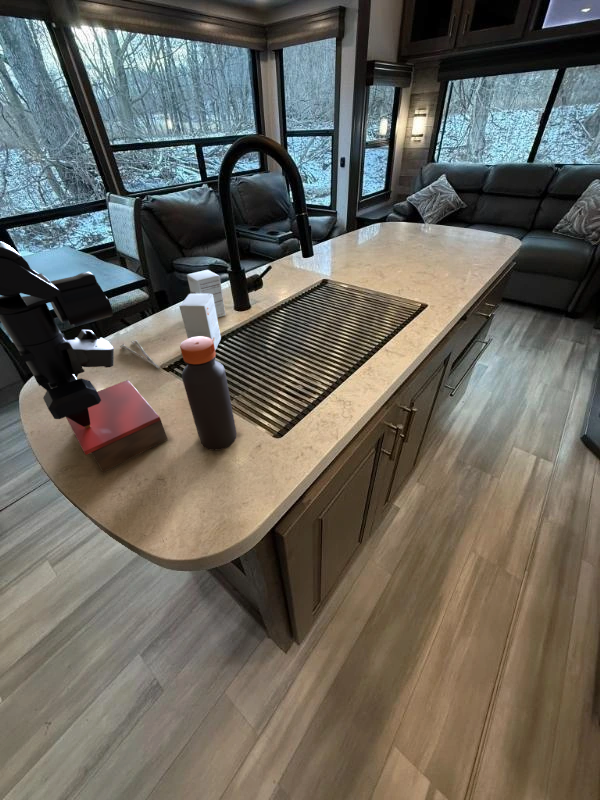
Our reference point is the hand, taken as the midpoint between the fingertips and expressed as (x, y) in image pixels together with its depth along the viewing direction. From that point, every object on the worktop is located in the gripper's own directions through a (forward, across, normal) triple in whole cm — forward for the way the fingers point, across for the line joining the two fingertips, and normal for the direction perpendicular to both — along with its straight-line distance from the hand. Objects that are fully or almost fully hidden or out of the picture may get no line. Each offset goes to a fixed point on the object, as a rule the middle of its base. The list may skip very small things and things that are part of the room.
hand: (82, 417), depth 57 cm
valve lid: (+2, 0, -4) cm, 4 cm away
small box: (+6, +19, -33) cm, 39 cm away
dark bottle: (+7, -14, -17) cm, 23 cm away
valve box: (+6, 0, -4) cm, 8 cm away
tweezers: (+7, +25, -18) cm, 32 cm away
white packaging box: (+6, +36, -44) cm, 58 cm away
